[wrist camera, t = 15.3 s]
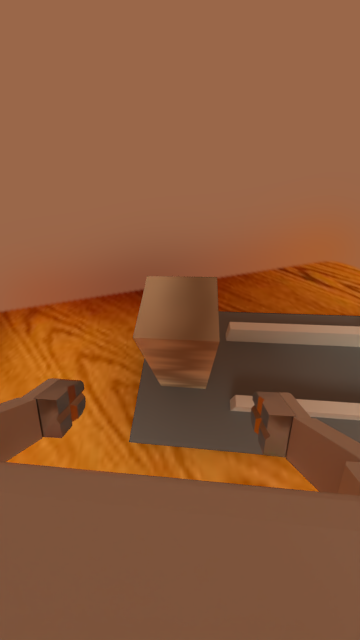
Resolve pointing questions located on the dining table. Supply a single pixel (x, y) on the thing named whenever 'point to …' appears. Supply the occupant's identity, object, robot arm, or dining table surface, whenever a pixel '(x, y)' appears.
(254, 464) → the dining table surface
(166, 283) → the beech block
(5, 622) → the robot arm
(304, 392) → the shelf lane
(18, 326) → the dining table surface
